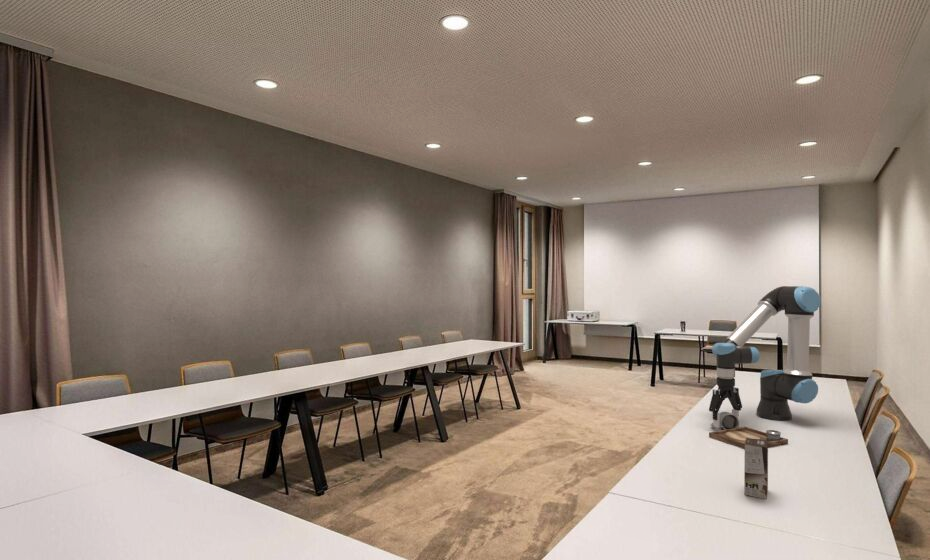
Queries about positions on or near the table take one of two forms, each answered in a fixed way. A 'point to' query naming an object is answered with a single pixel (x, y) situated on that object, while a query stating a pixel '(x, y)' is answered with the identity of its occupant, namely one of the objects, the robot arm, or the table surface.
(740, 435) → the tray
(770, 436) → the sugar tin
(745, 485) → the coffee box
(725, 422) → the ceramic mug
